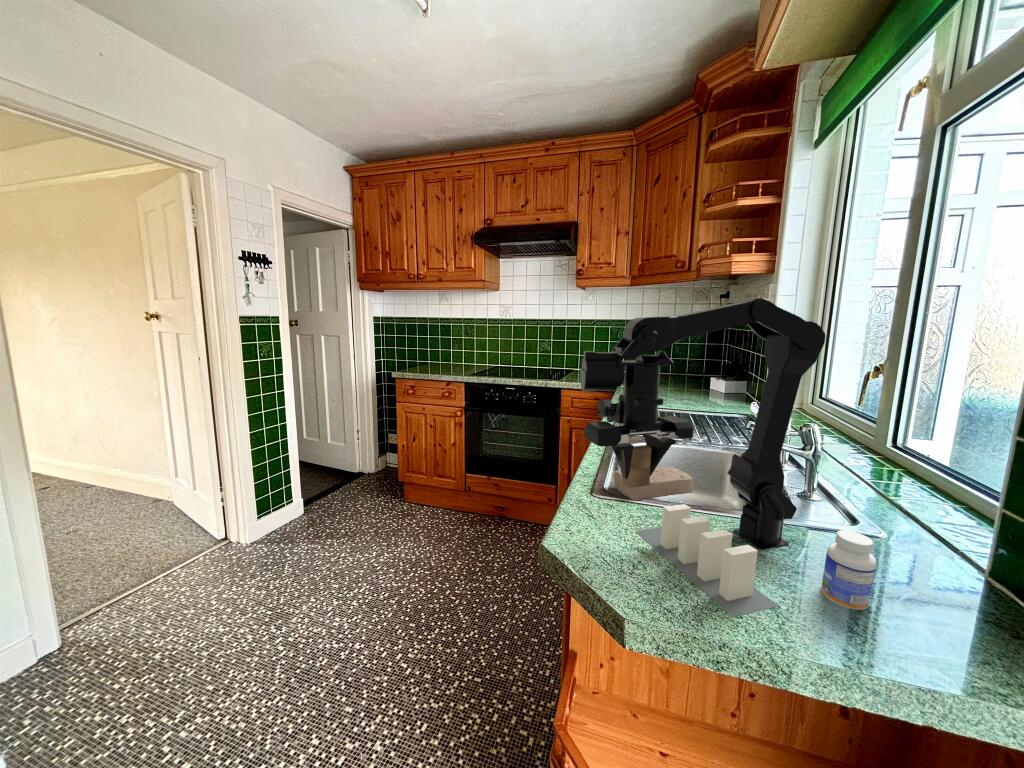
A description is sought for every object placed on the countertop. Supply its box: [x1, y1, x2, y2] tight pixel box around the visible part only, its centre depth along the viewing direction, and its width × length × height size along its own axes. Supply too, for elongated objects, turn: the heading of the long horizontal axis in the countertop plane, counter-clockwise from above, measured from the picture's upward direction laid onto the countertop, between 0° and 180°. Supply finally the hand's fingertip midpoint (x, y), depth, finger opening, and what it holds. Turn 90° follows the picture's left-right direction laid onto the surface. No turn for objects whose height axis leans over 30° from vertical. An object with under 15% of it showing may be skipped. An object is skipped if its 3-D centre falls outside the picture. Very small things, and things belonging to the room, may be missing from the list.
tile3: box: [678, 515, 711, 564], centre depth 67 cm, size 4×2×7 cm, turn 106°
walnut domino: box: [623, 444, 651, 488], centre depth 73 cm, size 4×2×7 cm, turn 106°
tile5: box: [719, 544, 758, 601], centre depth 58 cm, size 4×2×7 cm, turn 106°
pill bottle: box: [820, 529, 877, 611], centre depth 58 cm, size 5×5×10 cm
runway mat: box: [634, 526, 780, 618], centre depth 66 cm, size 8×23×1 cm, turn 16°
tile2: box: [661, 503, 692, 549], centre depth 71 cm, size 4×2×7 cm, turn 106°
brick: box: [613, 466, 694, 501], centre depth 95 cm, size 17×8×5 cm, turn 106°
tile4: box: [697, 529, 733, 581], centre depth 62 cm, size 4×2×7 cm, turn 106°
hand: (636, 476), depth 73 cm, fingers closed on walnut domino, 4 cm apart
